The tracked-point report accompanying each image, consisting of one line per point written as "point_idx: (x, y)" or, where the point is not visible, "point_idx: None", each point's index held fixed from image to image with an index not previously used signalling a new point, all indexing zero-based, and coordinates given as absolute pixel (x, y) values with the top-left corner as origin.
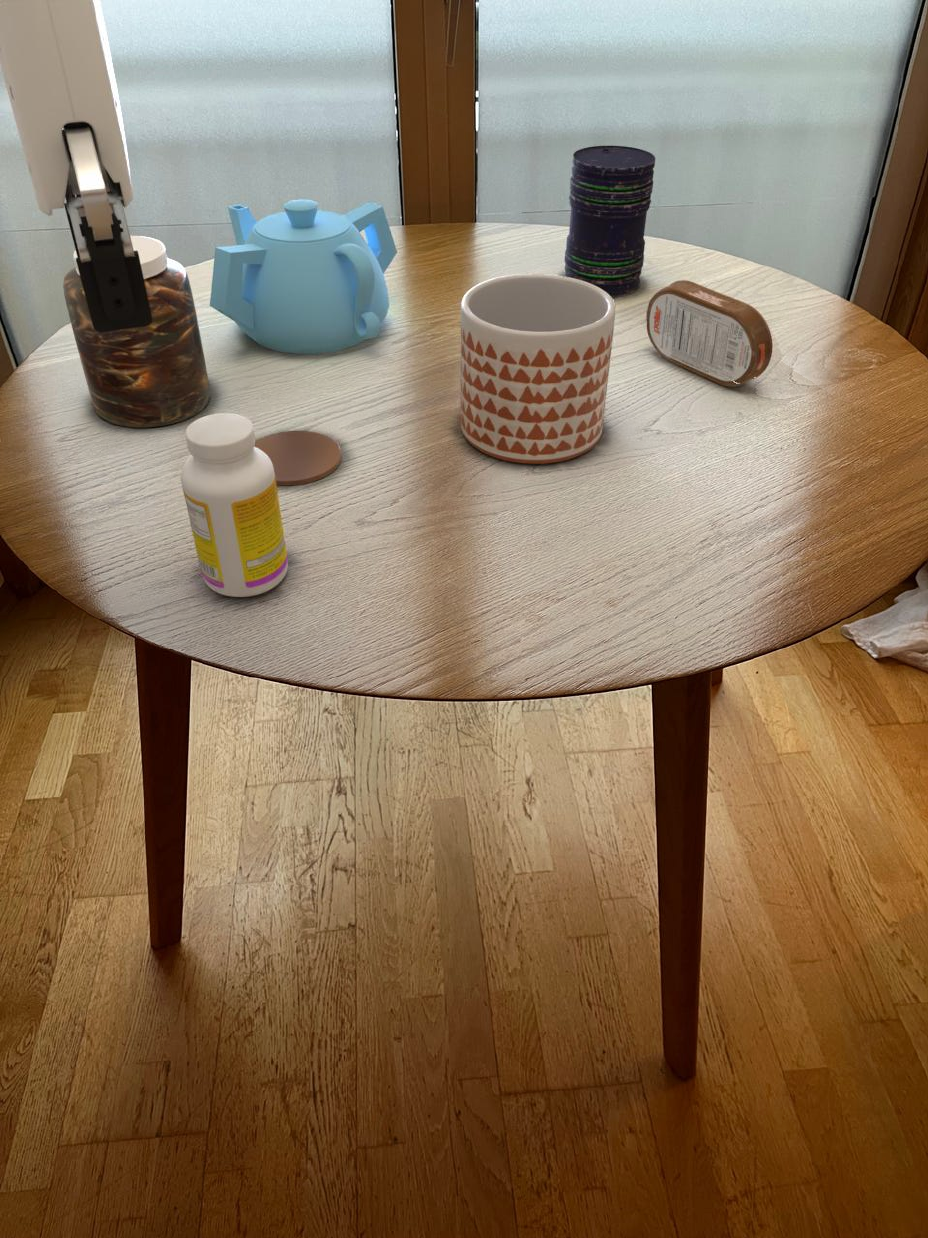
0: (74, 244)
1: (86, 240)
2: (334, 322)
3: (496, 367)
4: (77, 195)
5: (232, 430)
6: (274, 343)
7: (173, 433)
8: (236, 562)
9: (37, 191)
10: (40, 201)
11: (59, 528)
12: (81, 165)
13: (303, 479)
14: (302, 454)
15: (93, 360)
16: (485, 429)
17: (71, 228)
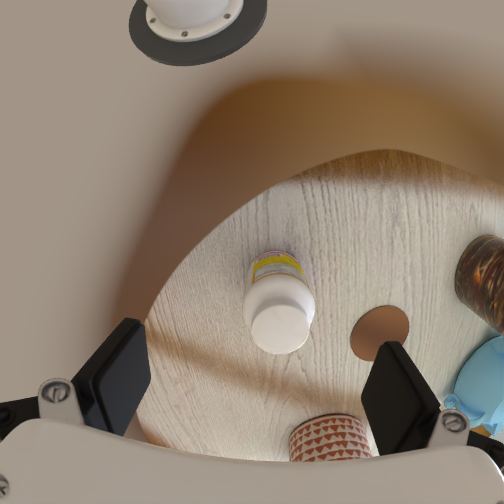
0: (401, 362)
1: (391, 383)
2: (462, 388)
3: (317, 460)
4: (420, 438)
5: (272, 339)
6: (479, 350)
7: (447, 273)
8: (247, 277)
9: (3, 444)
10: (15, 429)
11: (384, 177)
12: None
13: (352, 335)
14: (377, 341)
15: (502, 251)
16: (319, 428)
17: (411, 381)
